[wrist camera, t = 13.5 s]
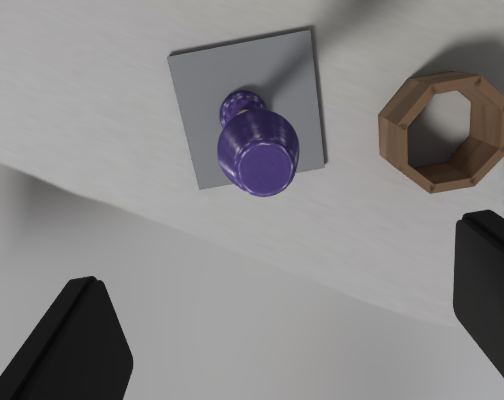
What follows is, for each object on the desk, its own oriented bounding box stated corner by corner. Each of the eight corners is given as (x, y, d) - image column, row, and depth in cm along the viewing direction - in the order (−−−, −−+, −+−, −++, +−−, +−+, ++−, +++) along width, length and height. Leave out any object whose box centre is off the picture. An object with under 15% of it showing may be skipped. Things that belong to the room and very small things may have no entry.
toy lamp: (208, 95, 33) (199, 147, 17) (259, 74, 32) (295, 107, 17) (230, 145, 34) (240, 232, 19) (278, 126, 34) (327, 198, 19)
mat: (323, 165, 36) (324, 167, 36) (199, 187, 37) (199, 189, 36) (308, 29, 32) (310, 29, 31) (168, 56, 32) (166, 56, 32)
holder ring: (476, 164, 37) (506, 180, 33) (381, 181, 37) (398, 199, 33) (482, 65, 33) (516, 68, 29) (376, 84, 34) (396, 90, 29)
